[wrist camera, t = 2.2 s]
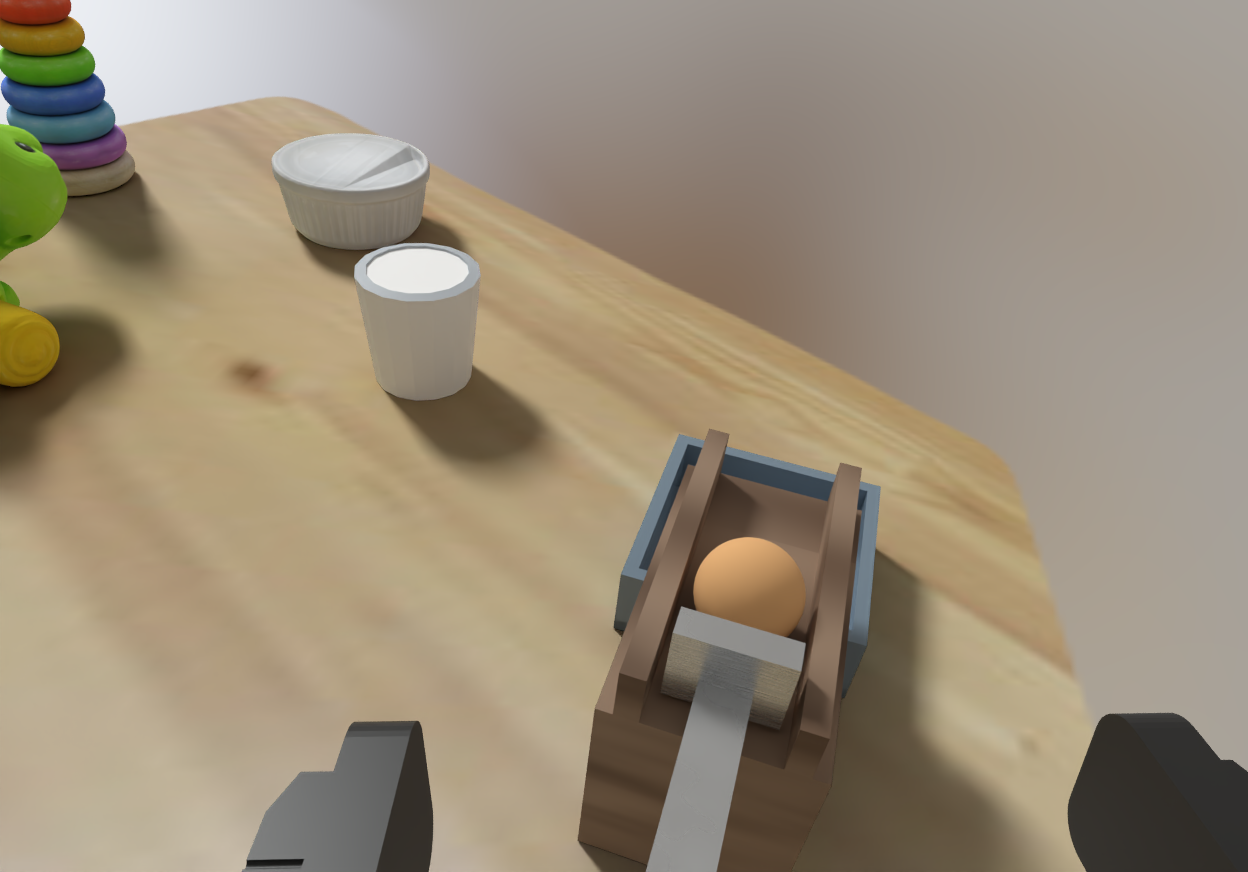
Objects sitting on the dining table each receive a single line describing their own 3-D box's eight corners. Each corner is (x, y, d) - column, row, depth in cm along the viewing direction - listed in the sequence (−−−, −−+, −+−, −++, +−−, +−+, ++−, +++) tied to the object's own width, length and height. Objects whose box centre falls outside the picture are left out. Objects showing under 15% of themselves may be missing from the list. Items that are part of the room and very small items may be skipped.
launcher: (772, 909, 29) (850, 745, 22) (577, 840, 30) (600, 667, 24) (813, 640, 38) (876, 471, 32) (663, 595, 39) (695, 425, 33)
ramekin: (436, 257, 63) (434, 189, 60) (276, 260, 60) (264, 189, 57) (427, 195, 71) (424, 133, 68) (286, 196, 69) (276, 131, 65)
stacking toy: (-2, 192, 64) (-110, -98, 52) (63, 155, 70) (-22, -111, 59) (101, 205, 64) (15, -82, 52) (157, 167, 70) (91, -97, 59)
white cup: (501, 361, 53) (502, 259, 48) (444, 420, 48) (439, 312, 43) (406, 331, 54) (399, 230, 50) (340, 385, 49) (326, 278, 45)
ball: (745, 693, 26) (768, 618, 24) (663, 622, 28) (678, 547, 25) (813, 635, 28) (840, 561, 26) (733, 572, 30) (752, 499, 27)
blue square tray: (844, 698, 36) (866, 646, 33) (613, 628, 37) (621, 574, 35) (861, 537, 43) (880, 486, 41) (670, 485, 45) (679, 434, 43)
